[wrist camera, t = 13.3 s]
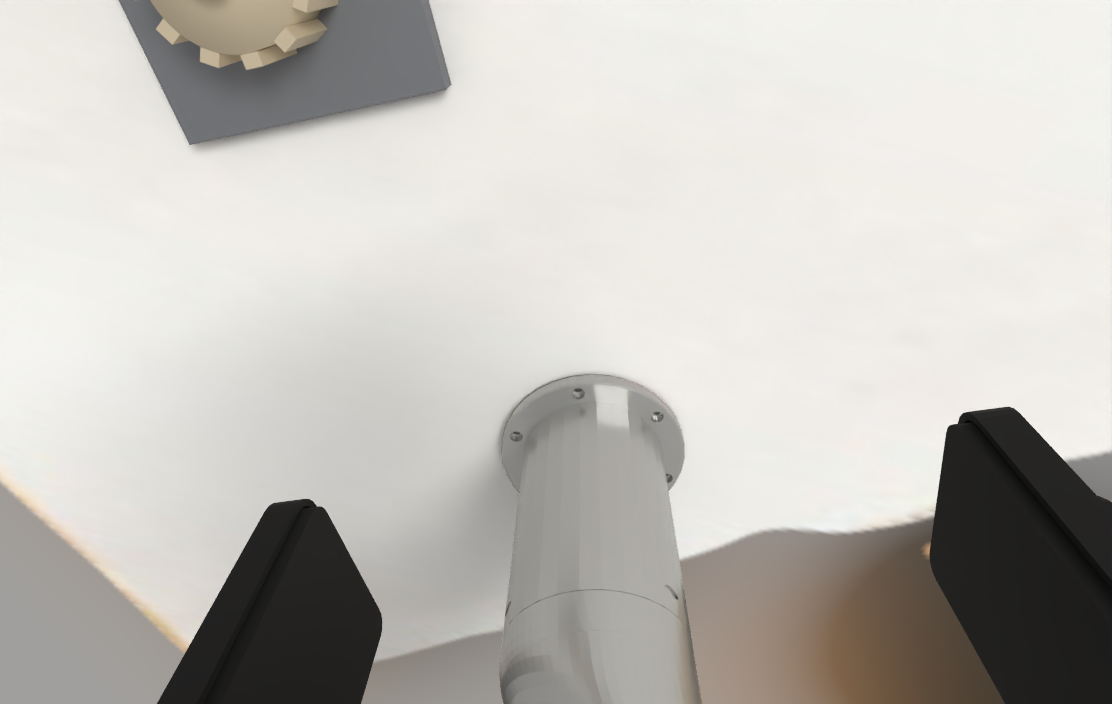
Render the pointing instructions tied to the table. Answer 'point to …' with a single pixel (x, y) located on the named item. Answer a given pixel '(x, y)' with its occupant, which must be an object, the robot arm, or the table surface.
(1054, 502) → the robot arm
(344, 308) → the table surface
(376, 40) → the gear board
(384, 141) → the table surface
